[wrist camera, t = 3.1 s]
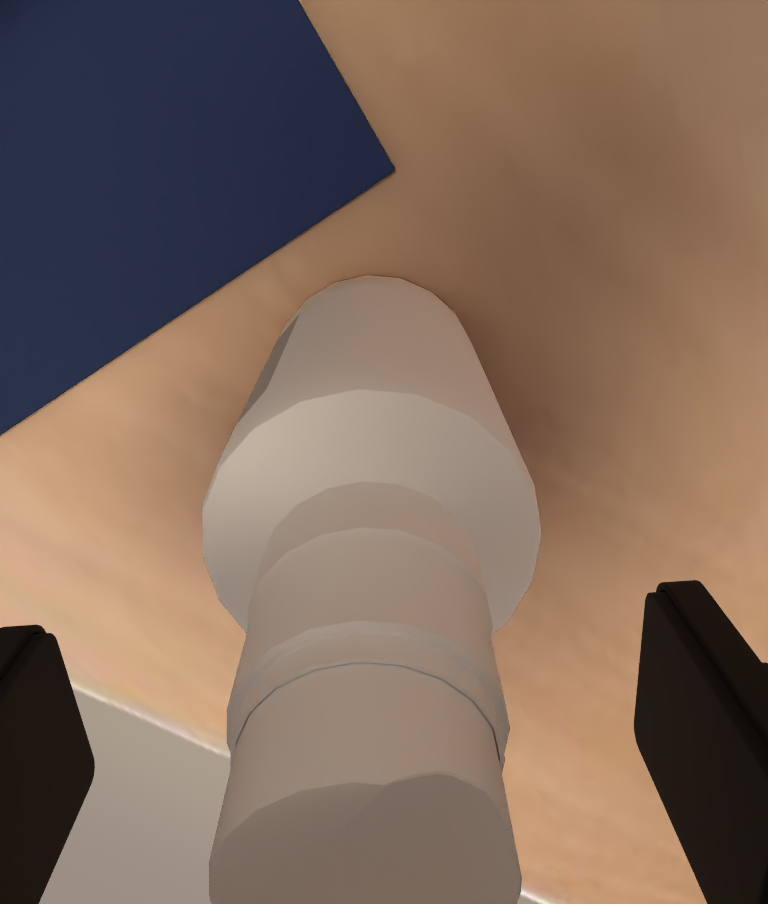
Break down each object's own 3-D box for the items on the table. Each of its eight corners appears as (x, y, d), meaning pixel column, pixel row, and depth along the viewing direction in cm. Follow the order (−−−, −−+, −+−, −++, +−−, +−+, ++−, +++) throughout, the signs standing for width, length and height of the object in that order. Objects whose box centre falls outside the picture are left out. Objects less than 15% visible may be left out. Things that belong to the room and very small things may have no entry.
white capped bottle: (231, 361, 24) (-95, 870, 7) (387, 227, 22) (415, 503, 6) (362, 499, 26) (335, 1125, 10) (514, 386, 24) (798, 919, 8)
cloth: (395, 169, 21) (395, 170, 21) (-74, 483, 26) (-80, 488, 25) (193, -184, 18) (188, -190, 18) (-311, 248, 22) (-322, 249, 22)
